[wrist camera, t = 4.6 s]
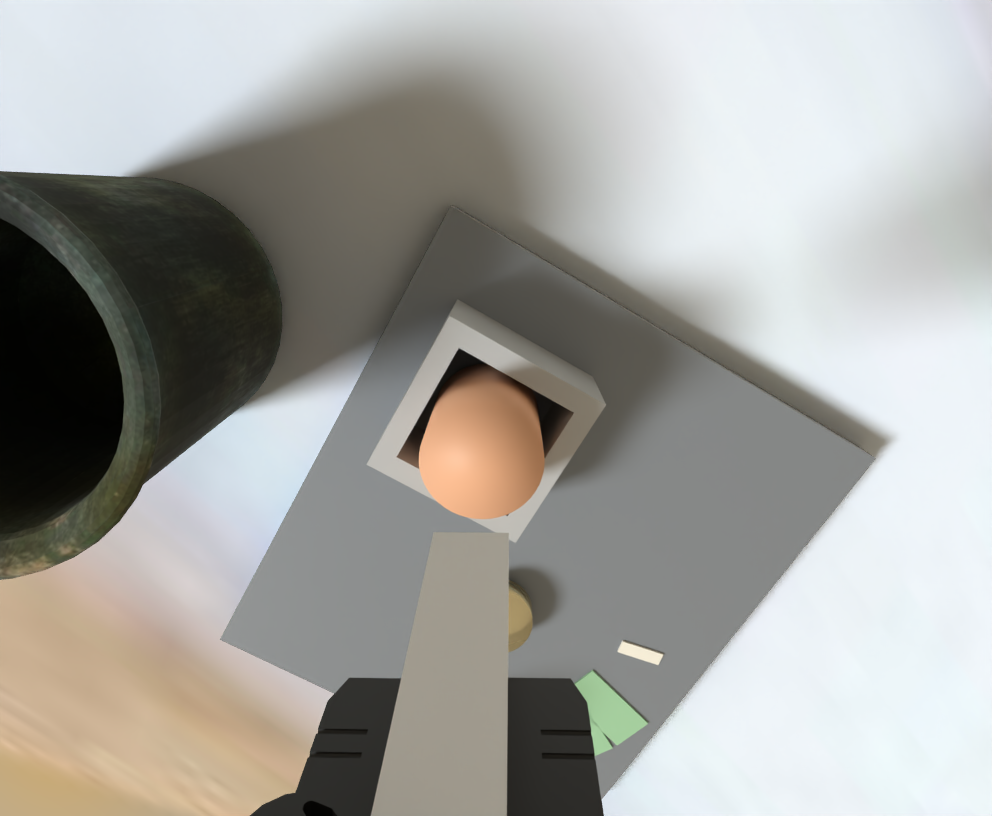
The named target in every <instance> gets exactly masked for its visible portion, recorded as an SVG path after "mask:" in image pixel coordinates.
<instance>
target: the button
mask: <svg viewBox="0 0 992 816" xmlns="http://www.w3.org/2000/svg"><path fill="white" fill-rule="evenodd" d="M544 464H545V459H544V449H543V442H542V435H541V427H540V420H539V413H538V406H537V401H536V398H535V395H534V393H533V391H532V389H531V388H529V387H527V386H526V385H524V384H522V383H520V382H519V381H517V380H515V379H513V378H511V377H510V376H508V375H506V374H504V373H503V372H501V371H499V370H497V369H495V368H494V367H492V366H490V365H488V364H476V365H471V366H468V367H466V368H463V369H461V370H459V371H458V372H456V373H455V374H454V375H452V376H451V377H450V378H449V379H448V380H447V381H446V382H445V384H444V385H443V387H442V388H441V390H440V392H439V394H438V397H437V399H436V402H435V405H434V408H433V411H432V414H431V417H430V420H429V422H428V425H427V428H426V431H425V434H424V437H423V440H422V443H421V446H420V451H419V470H420V473H421V477H422V480H423V482H424V485H425V486H426V488H427V490H428V491H429V493H430V494H431V495H432V497H433V498H434V499H435V500H436V501H437V502H438V503H439V504H441V505H442V506H443V507H445V508H446V509H448V510H449V511H451V512H453V513H456V514H458V515H461V516H464V517H468V518H473V519H492V518H498V517H501V516H504V515H507V514H509V513H512V512H514V511H515V510H517V509H519V508H520V507H521V506H523V505H524V504H525V503H526V502H527V501H528V500H529V499H530V498H531V497H532V496H533V494H534V493H535V492H536V490H537V488H538V486H539V485H540V482H541V479H542V476H543V472H544Z"/></svg>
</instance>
